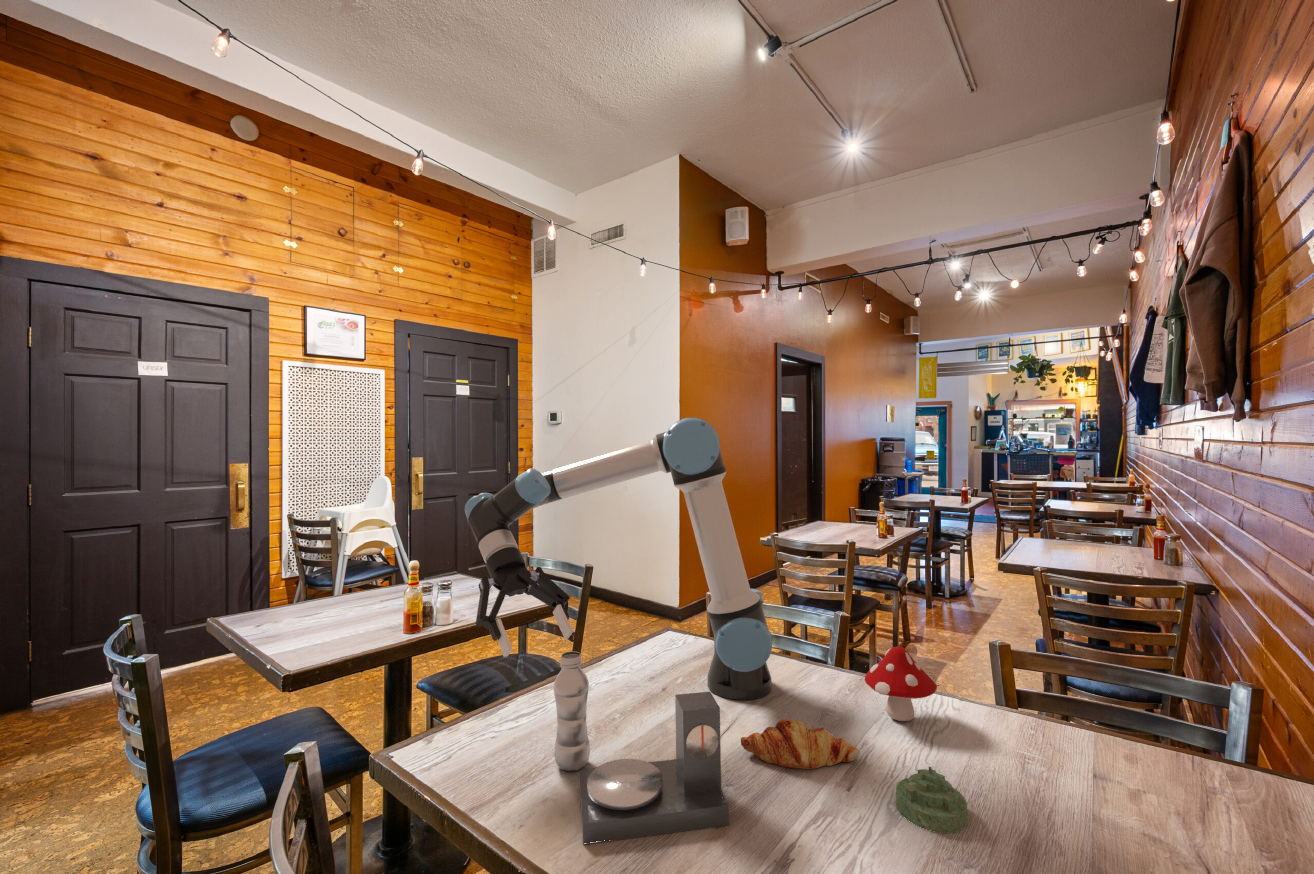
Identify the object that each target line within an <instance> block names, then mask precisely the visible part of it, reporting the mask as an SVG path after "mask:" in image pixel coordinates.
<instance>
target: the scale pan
mask: <svg viewBox="0 0 1314 874" xmlns="http://www.w3.org/2000/svg"><path fill="white" fill-rule="evenodd" d="M648 762H649V761H646V760H642V759H637V758H620V759H614V760H610V761H607V762H605V763H602V764H600V765H599V766H597V767H595V768H596V769H594V770H593V771H592V772H591V774H590V775H589V777H588V780H587V791H588V795H589V797H590V798H591V799H592V800H593V801H594V802H595V803H596V804H598V805H600V806H602V807H605V808H608V809H614V810H630V809H636V808H640V807H643V806H645V805H647V804H649V803H651V802H653V801H654V800H655V799H656V798H657V797H658V796H659V795H660V793H661V791H662V788H663V778H662V774H661V772H660V771H659V769H658V768H657V767H655V766H654V765H652V764H650V763H648Z"/></svg>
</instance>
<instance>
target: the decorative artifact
mask: <svg viewBox="0 0 1314 874" xmlns="http://www.w3.org/2000/svg"><path fill="white" fill-rule="evenodd" d="M895 795H896V796H895V798H896V799H895V800H896V801H895V802H896V803H895V804H896V808H897V810H898V812H899V813H900V815H901V816H902V817H903V818H904V817H905V818H906V819H907V821H908V822H909V821H910V822H909V823H911V822H912V823H913V825H914V824H915V825H914V826H916V825H917V826H916V827H918V826H919V827H918V828H920V827H921V828H920V829H923V828H924V829H923V830H926V829H927V830H926V831H929V830H931V831H930V832H933V831H935V832H934V833H938V832H941V833H940V834H953V833H954V834H955V833H958V832H960V831H962V830H964V829H965V828H966V827H967V824H968V802H967V799H966V798H965V796H964V795H963V794H962V793H961V792H960V791H959V790H958V789H956V788H955V787H953V784H951V783H950V782H949V780H946V776H945V775H943V774H941V773H938V772H937V771H936V770H934V769H933V768H932V766H928V769H926V768H925V769H917V773H913V774H911V775H909V777H907V778H904V779H901V780H900V781H898V783H897V784H896V787H895ZM905 818H904V819H905ZM906 819H905V820H906ZM912 823H911V824H912ZM942 832H943V833H942Z"/></svg>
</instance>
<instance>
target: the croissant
mask: <svg viewBox="0 0 1314 874" xmlns="http://www.w3.org/2000/svg"><path fill="white" fill-rule="evenodd" d="M740 744H741V746H742V747H743V749H744V750H745V751H747V752H748V753H751V754H753V755H756V757H757V758H759V759H760V760H762V761H764V762H766V763H769V764H774V765H778V766H780V767H784V768H790V769H795V768H796V769H803V770H811V769H817V768H822V767H824V766H827V767H830V766H834V765H837V764H839V763H841V762H842V763H848V762H852V761H854V760H855V759H857V758H858V757H859V753H860V751H859V750H860V749H859V748H857V747H856V746H853V745H852V744H851V743H849V742H848V741H847V740H846V739H845V738H843V737H840V738H838V737H836V736H835V735H834V734H832V733H830V732H829V731H828V730H826V729H825V728H824V727H817V728H811V729H810V728H809V727H808V726H807V725H806V723H804V722H803V721H801V720H796V719H792V718H791V719H789V718H786V719H781V720H778V721H777V723H776V725H775V726H767V727H766V728H765V729H764V730H763V732H761V733H760V732H753V733H751V734H749V735H748V736H747V737H746V736H744V737H743V736H742V737H741V738H740Z"/></svg>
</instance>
